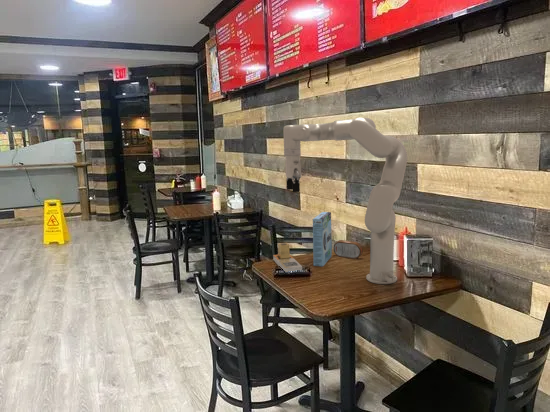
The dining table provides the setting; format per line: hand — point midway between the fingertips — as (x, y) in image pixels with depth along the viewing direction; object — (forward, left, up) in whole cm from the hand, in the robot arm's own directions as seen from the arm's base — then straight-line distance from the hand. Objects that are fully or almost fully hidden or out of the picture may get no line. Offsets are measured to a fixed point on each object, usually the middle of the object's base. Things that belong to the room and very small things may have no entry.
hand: (293, 190), depth 193 cm
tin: (+7, -30, -37) cm, 48 cm away
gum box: (+5, -16, -36) cm, 40 cm away
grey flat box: (+2, +3, -36) cm, 36 cm away
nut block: (+8, +3, -36) cm, 37 cm away
